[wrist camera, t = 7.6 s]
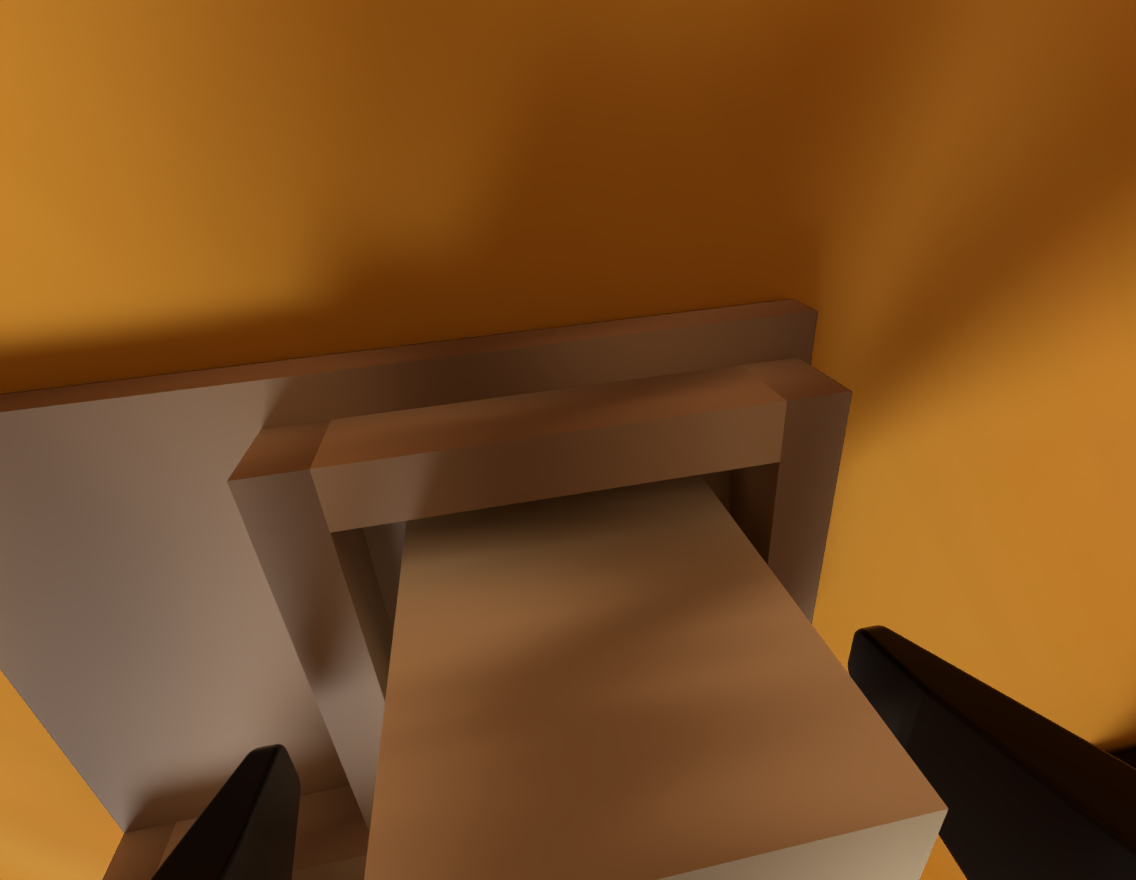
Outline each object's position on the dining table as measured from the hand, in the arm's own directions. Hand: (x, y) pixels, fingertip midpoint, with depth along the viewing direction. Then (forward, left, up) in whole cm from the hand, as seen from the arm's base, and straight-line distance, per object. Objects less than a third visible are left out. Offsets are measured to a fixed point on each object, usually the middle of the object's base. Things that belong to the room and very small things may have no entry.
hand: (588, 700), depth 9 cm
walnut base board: (+2, +4, -3) cm, 6 cm away
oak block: (0, 0, -2) cm, 2 cm away
